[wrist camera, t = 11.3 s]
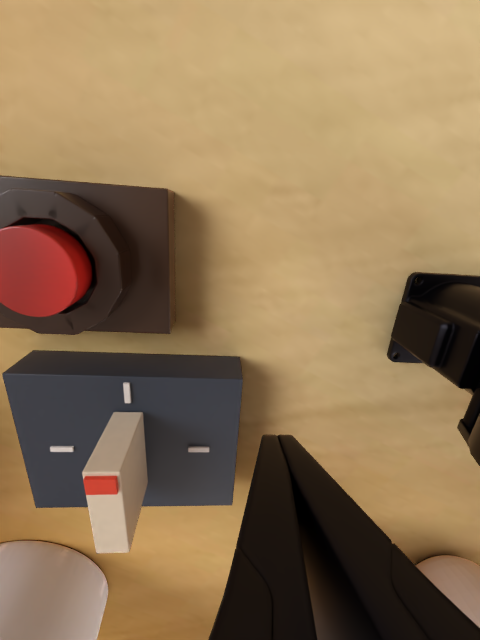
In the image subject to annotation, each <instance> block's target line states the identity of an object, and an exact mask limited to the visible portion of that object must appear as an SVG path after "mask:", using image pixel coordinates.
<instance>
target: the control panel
mask: <svg viewBox="0 0 480 640" xmlns="http://www.w3.org/2000/svg"><path fill="white" fill-rule="evenodd" d="M2 375H3V379H4V383H5V387H6V391H7V395H8V399H9V403H10V407H11V411H12V415H13V419H14V422H15V426H16V430H17V434H18V438H19V442H20V446H21V450H22V454H23V458H24V462H25V466H26V470H27V474H28V478H29V482H30V486H31V490H32V494H33V498H34V502H35V506H36V508H53V507H88V503H87V498H86V493H85V487H84V482H83V475H82V472H83V470H84V468H85V466H86V464H87V462H88V460H89V458H90V457H91V455H92V453H93V451H94V449H95V447H96V445H97V443H98V441H99V439H100V438H101V436H102V434H103V432H104V430H105V428H106V426H107V424H108V422H109V420H110V418H111V417H112V415H113V413H114V412H143V421H144V435H145V449H146V463H147V477H148V484H147V487H146V491H145V495H144V499H143V503H142V506H206V505H232V503H233V491H234V479H235V467H236V455H237V443H238V431H239V419H240V408H241V396H242V384H243V377H242V370H241V362H240V357H230V356H197V355H165V354H133V353H101V352H68V351H36V350H33V351H32V352H30V353H29V354H28V355H26V356H25V357H24V358H22V359H21V360H20V361H18V362H17V363H16V364H14V365H13V366H12V367H10V368H9V369H8V370H6V371H5V372H4V373H3V374H2Z"/></svg>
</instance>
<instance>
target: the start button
mask: <svg viewBox="0 0 480 640" xmlns="http://www.w3.org/2000/svg"><path fill="white" fill-rule="evenodd" d="M92 275H93V274H92V265H91V261H90V258H89V256H88V254H87V252H86V251H85V249H84V248H83V246H82V245H81V244H80V243H79V242H78V241H77V240H76V239H75V238H74V237H73V236H72V235H70V234H69V233H67V232H66V231H64V230H62V229H60V228H57V227H55V226H51V225H45V224H32V225H19V226H10V227H5V228H2V229H0V302H1V303H2V304H3V305H5V306H6V307H7V308H9V309H11V310H13V311H15V312H17V313H20V314H23V315H27V316H33V317H46V316H51V315H55V314H57V313H60V312H61V311H63V310H64V309H66V308H68V307H69V306H71V305H72V304H74V303H75V302H77V301H79V300H80V299H81V298H82V297H84V295H85V294H86V293H87V291H88V290H89V288H90V285H91V282H92Z"/></svg>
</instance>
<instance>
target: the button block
mask: <svg viewBox="0 0 480 640" xmlns="http://www.w3.org/2000/svg"><path fill="white" fill-rule="evenodd" d="M32 224H45V225H51V226H55V227H57V228H60V229H62V230H64V231H66V232H67V233H69V234H70V235H72V236H73V237H74V238H75V239H76V240H77V241H78V242H79V243H80V244H81V245H82V246H83V248H84V249H85V251H86V252H87V254H88V256H89V258H90V261H91V265H92V274H93V275H92V282H91V285H90V288H89V290H88V291H87V293H86V294H85V295H84V297H82V298H81V299H80V300H79V301H77V302H75V303H74V304H72V305H71V306H69V307H68V308H66V309H64V310H63V311H61V312H60V313H57V314H55V315H51V316H46V317H33V316H27V315H23V314H20V313H17V312H15V311H13V310H11V309H9V308H7V307H6V306H5V305H3V304H2V303H1V302H0V328H26V329H30V330H32V331H35V332H37V333H40V334H68V335H75V334H79V333H81V332H83V331H107V332H134V333H161V334H170V333H171V330H172V328H173V325H174V323H175V220H174V192H173V191H171V190H168V189H164V188H151V187H139V186H126V185H113V184H101V183H88V182H75V181H63V180H50V179H37V178H25V177H12V176H0V229H2V228H5V227H10V226H19V225H32Z"/></svg>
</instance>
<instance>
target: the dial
mask: <svg viewBox="0 0 480 640" xmlns="http://www.w3.org/2000/svg"><path fill="white" fill-rule="evenodd" d="M82 475H83V482H84V487H85V493H86V498H87V503H88V509H89V514H90V520H91V526H92V531H93V537H94V542H95V548H96V553H125V552H129V551H130V548H131V544H132V540H133V537H134V533H135V529H136V525H137V521H138V518H139V514H140V510H141V506H142V503H143V499H144V495H145V491H146V487H147V484H148V477H147V463H146V449H145V435H144V421H143V412H114V413H113V415H112V417H111V418H110V420H109V422H108V424H107V426H106V428H105V430H104V432H103V434H102V436H101V438H100V439H99V441H98V443H97V445H96V447H95V449H94V451H93V453H92V455H91V457H90V458H89V460H88V462H87V464H86V466H85V468H84V470H83V472H82Z"/></svg>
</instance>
